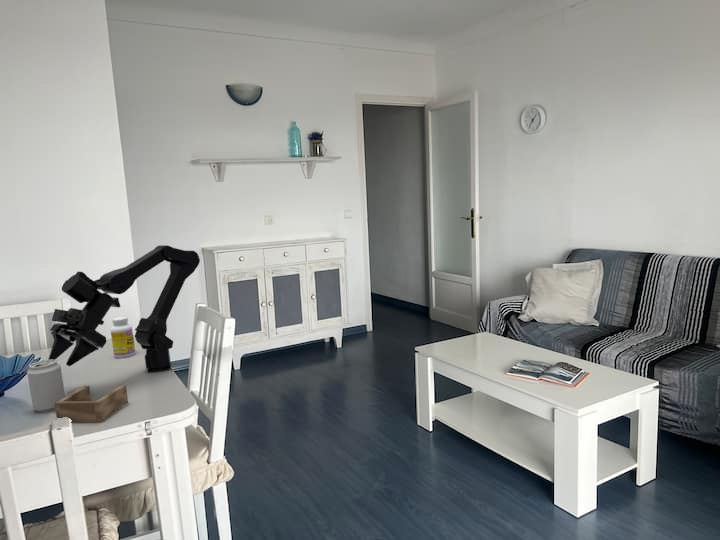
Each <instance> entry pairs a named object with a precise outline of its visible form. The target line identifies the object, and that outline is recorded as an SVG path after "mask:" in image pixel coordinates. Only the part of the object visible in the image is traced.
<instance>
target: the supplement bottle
mask: <svg viewBox="0 0 720 540" xmlns="http://www.w3.org/2000/svg"><path fill="white" fill-rule="evenodd" d="M111 321H112V325H113V326H112V327H111V328H110V336H111V342H112V348H113V349H112V350H113V356H114V358H116V359H123V358H130V357H132V356H134V355H135V354H136V347H135V340H134V333H133V332H134V331H133V326H132V325H131V324H130V323H128V322H129V319H128V316H119V317H114V318H113V319H112V320H111Z"/></svg>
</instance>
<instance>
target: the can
mask: <svg viewBox="0 0 720 540" xmlns="http://www.w3.org/2000/svg"><path fill="white" fill-rule="evenodd" d="M26 374H27V381H28V386H29V392H30V396H31V404H32V408H33V410H35V411H37V413H38V412H39V413H47V412H51V411H54V410H55V404H54V403H56V402H58V401H60V400H61V399H63V398H65V397H66V393H65V387H64V380H63V374H62V367H61V364H59V363H58V362H57V359H55V360H53V359H51V360H48V359H43V360H40V361H36V362H33V363H30V364H29V365H28V370H27V371H26ZM55 411H56V410H55Z"/></svg>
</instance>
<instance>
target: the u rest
mask: <svg viewBox="0 0 720 540" xmlns="http://www.w3.org/2000/svg"><path fill="white" fill-rule="evenodd" d="M128 399H129V398H128V391H127V385H126V384H121V385H119V386H118V387H116V388H114V389H113V390H111V391H110V392H108V393H107V394H105V395H103V396H102V397H101V398H99V399H98V400H92V396H91V390H90V385H84V386H82V387H80V388H79V389H76V390H75V391H73V392H72V393H70V394H69V395H67V396H66V395H65V398H63V399H61V400H60V401H58V402H56V403H54V404H55V416H56V419H57V418H63V417H68V418H70V419H71V420H72V422H71V423H102V422H104V421H105V420H107V419H108V418H109V417H111V416H112V415H113V414H112V413H114V412H115V411H116V410H118V409H119V408H121V407H122V406H123V405H125V404H126V403H128V404H129V400H128ZM126 405H127V404H126ZM126 405H125V406H126ZM123 407H124V406H123ZM123 407H122V408H123ZM122 408H121V409H122ZM119 410H120V409H119ZM119 410H118V411H119ZM116 412H117V411H116ZM116 412H115V413H116ZM115 413H114V414H115ZM111 414H112V415H111ZM110 415H111V416H110ZM108 416H109V417H108ZM107 417H108V418H107ZM106 418H107V419H106ZM104 419H105V420H104ZM103 420H104V421H103Z"/></svg>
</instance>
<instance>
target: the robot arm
mask: <svg viewBox="0 0 720 540" xmlns="http://www.w3.org/2000/svg"><path fill="white" fill-rule="evenodd" d="M164 261H166V262H167V263H170V264H169V269H170V270H169V271H170V272H169V276H168V278H167V280H166V282H165V284H164V285H163V288H162V291H161V292H160V294H159V296H158V299H157V301H156V303H155V305H154V307H153V310H152V312H151V313H150V315H149V316H147V317H146V318H144V317H141V318H140V319H139V322H138V324H137V327H136V328H135V329H134V331H135V332H134V333H135V334H134V337H135V340H136V342H137V343H138V344H139V346H141V347H140V348H141V349H143V350H146V351H145V355H144V360H145V367H146V369H147V373H154V372H160V371H165V370H166V371H167V370H171V369H172V368H171V367H172V363H173V362H172V361H171V353H170V349H173V345H174V341H173V339H171V338H169V337H168V336H167V330H168V328H167V327H168V326H167V321H168V318H169V315H170V314H171V312H172V310H173V307H174V305H175V303H176V301H177V298H178V297H179V295H180V292H181V291H182V287H183V286H184V283H185V281H186V279H188V278H189V277H190V276H191V275H193V274H194V272H195V271H196V270H197V267H199V264H200V261H201V259H200V256H199V253H198V252H196V251H195V250H184V249H180V248H176V247H173V246H170V245H157V246H156V247H154V249H151V250H150V251H149V252H147V253H145V254H143V255H142V256H141V257H139V258H137V259H136V260H134V261H133V262H130V264H128V265H126V266H124V267H121V268H117V269H114V270H111V271H109V272H106V273H103V275H101V276H100V278H99V279H95V280H93V279H92V278H90V277H89V276H88V275H86V273H85V272H83V271H76V273H75V274H73V275H72V276H70V277H69V278H68V279H67V280H65V281H64V283H63V284H62V286H61V291H62V292H63V293H64V294H65V295H67V296H69V297H70V298H72V299H73V300H75V301H76V302H77V303H79V304H83V303H86V304H85V305H84V306H83V308H82V309H78V308H74V307H70V308H68V310H64V309H57V308H54V312H53V315H52V317H51V322H58V323H53V325H51V328H50V329H49V331H50V334H51V335H52V337H53V344H52V347H51V350H50V353H49V356H48V359H47V360H51V359H53V360H57V359H58V358H59V357H60V356H61V355H62V354H64V353H65V352H66V351H67V350H69V349H70V347H72V346H74V343H75V346H74V347H73V349H72V351H71V353H70V355H69V357H68V359H67V362H66V363H65V365H66V366H68V367H71V366H73V365H75V364H76V363H77V362H79V361H81V360H83V358H85V357H87V356H88V355H90V354H92V353H93V352H96V351H98V350H99V348H100V349H103V348H104V347H105V345H106V344H107V337H106V336H105V335H103V334H101V333H100V332H99V331H97V328H98V327H99V326H103V325H104V323H105V321H104V320H103V319H104V318H105V316H106V315H107V314H108V312H109V311H110V309H111V307H112V308H121V303H120V300H119V299H120V298H119V297H113V296H111V295H110V294H112V295H113V294H114V295H122V294H124V293H125V292H127V290H129V289H130V288H131V287H132V286H133V285H134V283H135V282H136V280H138V278H140V277H141V276H143V275H144V274H146V273H147V272H149V271H150V270H152V269H154V268H155V267H157V266H158V265H160V264H161V263H162V262H164ZM99 290H101V291H102V292H101V291H99Z"/></svg>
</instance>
